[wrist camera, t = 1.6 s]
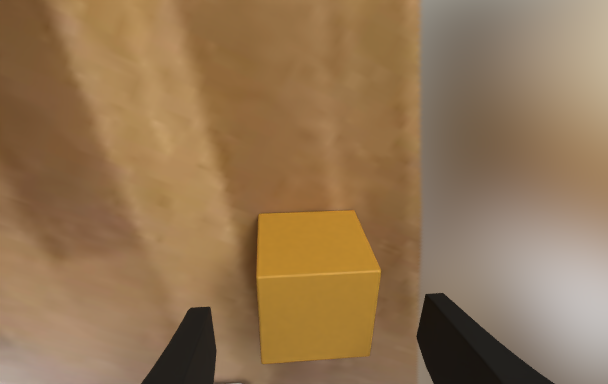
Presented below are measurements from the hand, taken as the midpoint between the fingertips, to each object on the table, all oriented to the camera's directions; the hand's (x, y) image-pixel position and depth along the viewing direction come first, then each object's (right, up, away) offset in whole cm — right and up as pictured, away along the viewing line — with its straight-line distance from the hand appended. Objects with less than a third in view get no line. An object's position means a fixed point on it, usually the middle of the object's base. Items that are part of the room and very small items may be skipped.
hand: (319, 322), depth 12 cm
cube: (0, +2, +4) cm, 4 cm away
